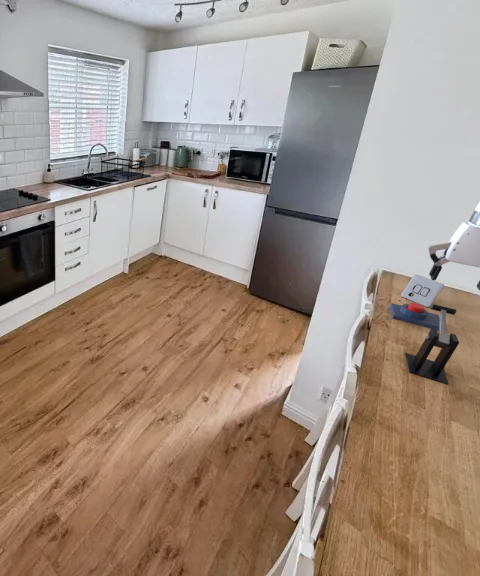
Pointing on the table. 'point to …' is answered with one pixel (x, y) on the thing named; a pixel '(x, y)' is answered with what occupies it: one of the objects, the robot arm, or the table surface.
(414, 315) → the switch block
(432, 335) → the bracket
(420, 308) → the button
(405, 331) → the table surface
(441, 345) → the lever
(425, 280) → the electrical switch
